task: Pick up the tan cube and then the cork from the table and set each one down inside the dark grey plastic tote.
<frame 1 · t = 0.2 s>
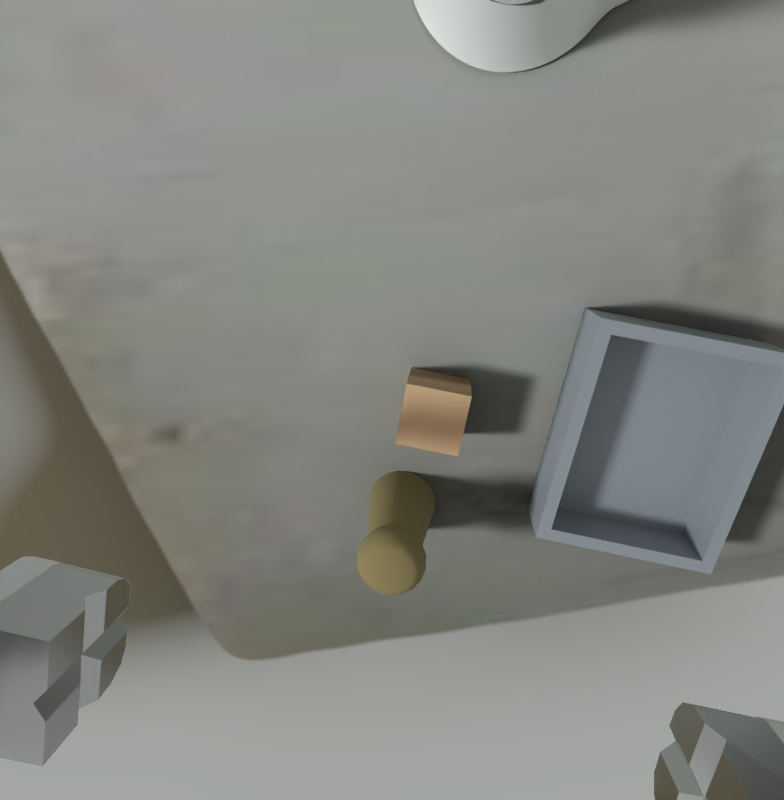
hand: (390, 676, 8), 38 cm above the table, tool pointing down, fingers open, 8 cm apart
tote: (638, 430, 46), on the table
tan cube: (434, 400, 47), on the table
cork: (402, 500, 50), on the table
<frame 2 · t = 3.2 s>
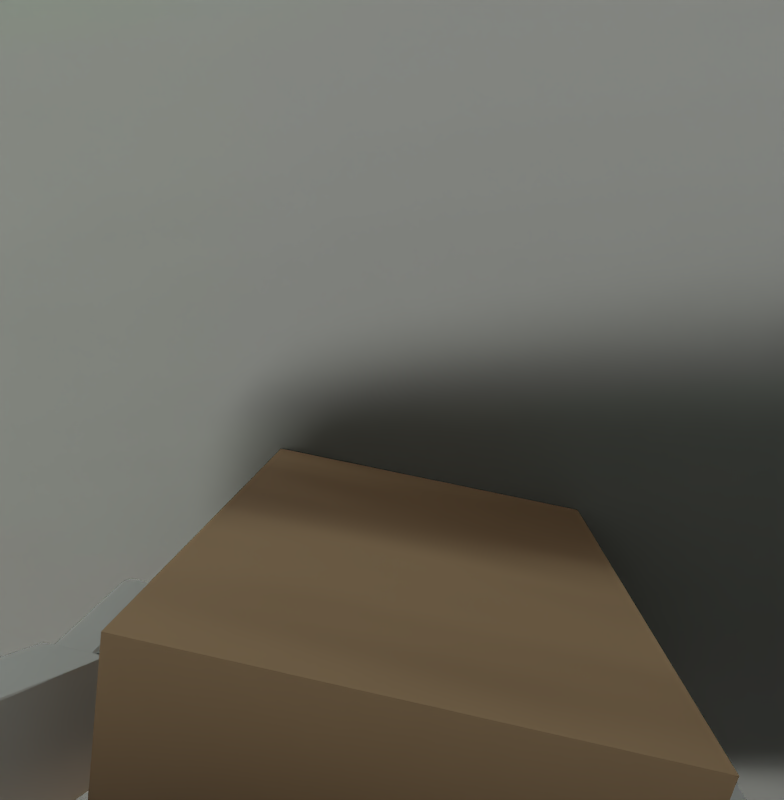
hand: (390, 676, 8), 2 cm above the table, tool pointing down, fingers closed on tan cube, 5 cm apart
tan cube: (399, 611, 10), on the table, touching gripper
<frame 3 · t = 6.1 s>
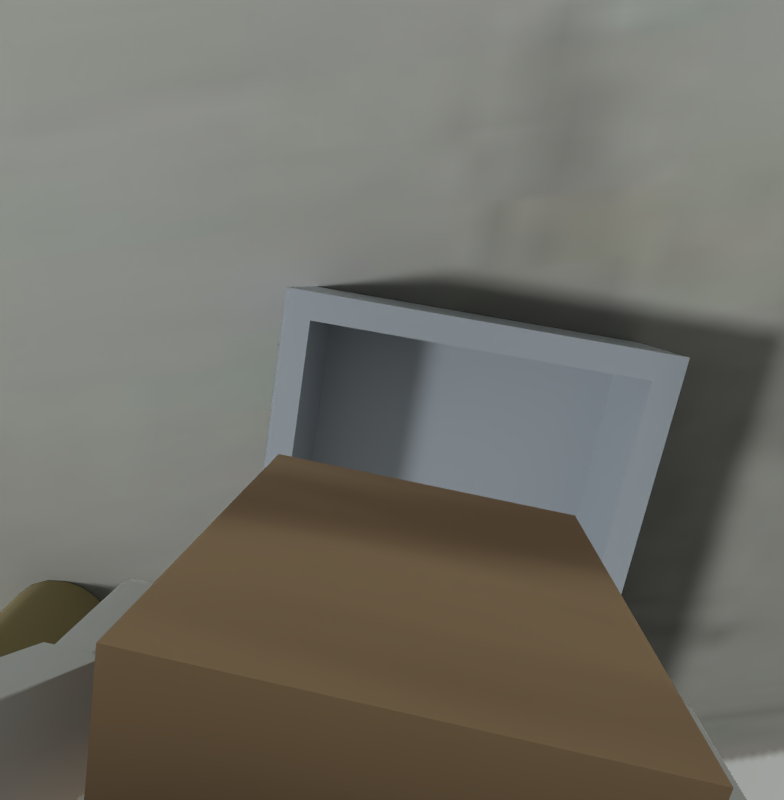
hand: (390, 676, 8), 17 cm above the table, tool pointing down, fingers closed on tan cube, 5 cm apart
tote: (437, 505, 26), on the table
tan cube: (397, 616, 10), point 16 cm above the table, touching gripper
cork: (65, 629, 29), on the table
when the fingers open (5 cm above the table, at t = 9.1 s): tan cube drops 2 cm, resting on tote.
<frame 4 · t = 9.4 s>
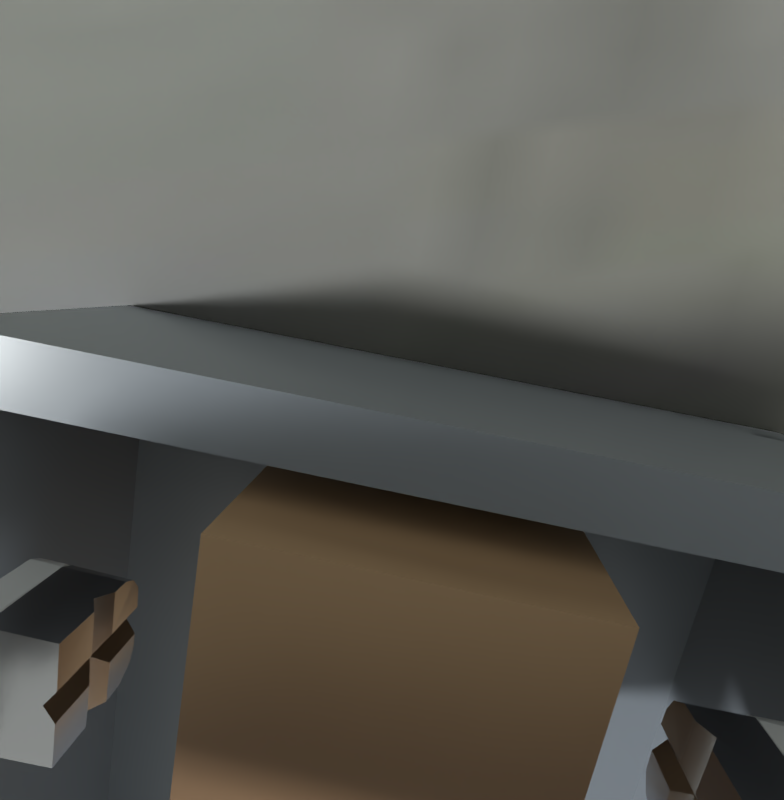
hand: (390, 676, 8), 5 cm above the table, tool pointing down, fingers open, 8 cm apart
tote: (371, 720, 14), on the table
tan cube: (404, 561, 12), point 1 cm above the table, touching tote
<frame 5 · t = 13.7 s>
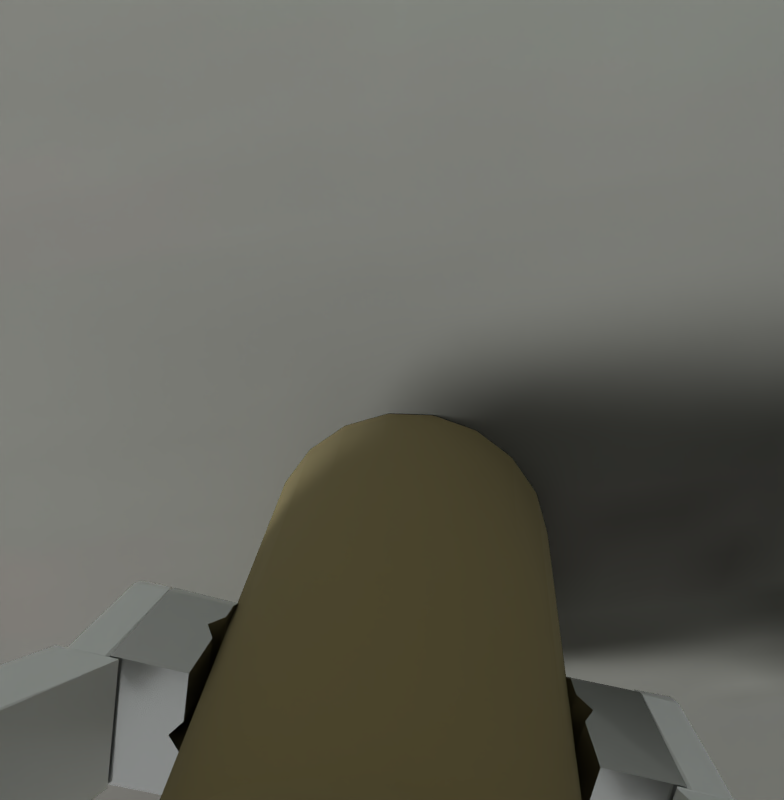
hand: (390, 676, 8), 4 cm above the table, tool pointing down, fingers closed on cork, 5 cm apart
cork: (407, 542, 12), on the table, touching gripper
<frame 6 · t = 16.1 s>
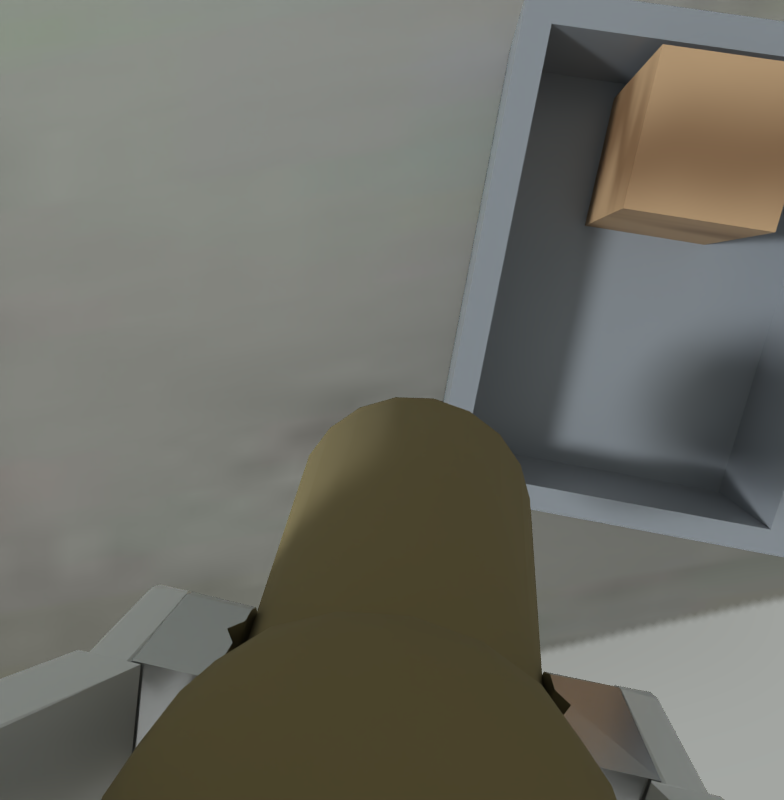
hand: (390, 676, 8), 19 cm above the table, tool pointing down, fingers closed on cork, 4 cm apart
tote: (623, 293, 25), on the table
tan cube: (660, 172, 23), point 1 cm above the table, touching tote
cork: (412, 507, 14), point 12 cm above the table, touching gripper
when the fingers open (7 cm above the table, at t = 19.3 s): cork stays where it is, resting on tote.
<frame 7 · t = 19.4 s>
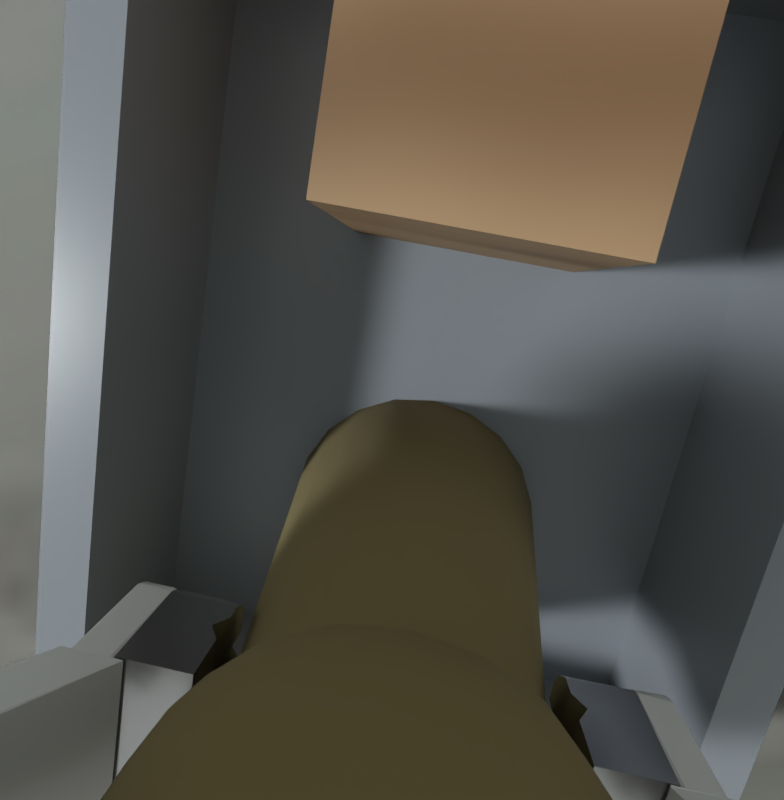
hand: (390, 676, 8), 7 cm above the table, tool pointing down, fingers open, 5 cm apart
tote: (444, 350, 14), on the table
tan cube: (487, 136, 12), point 1 cm above the table, touching tote
cork: (411, 511, 14), point 1 cm above the table, touching tote
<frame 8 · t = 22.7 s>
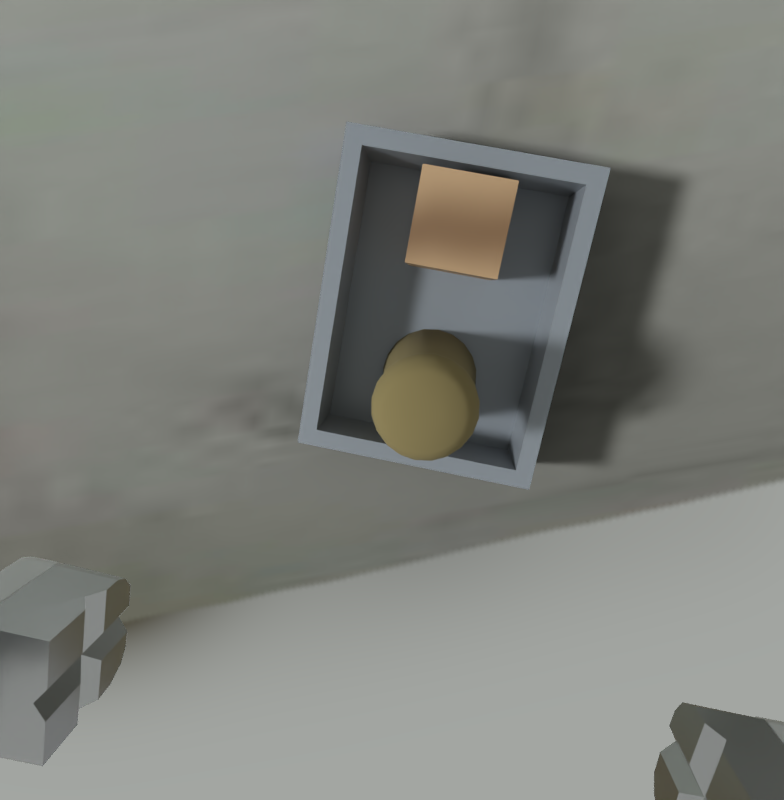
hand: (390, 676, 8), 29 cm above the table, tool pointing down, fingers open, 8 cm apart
tote: (442, 311, 36), on the table
tan cube: (457, 231, 34), point 1 cm above the table, touching tote
cork: (429, 375, 36), point 1 cm above the table, touching tote
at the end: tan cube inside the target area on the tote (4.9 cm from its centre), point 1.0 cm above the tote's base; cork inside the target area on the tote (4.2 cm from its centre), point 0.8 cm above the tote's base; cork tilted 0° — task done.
